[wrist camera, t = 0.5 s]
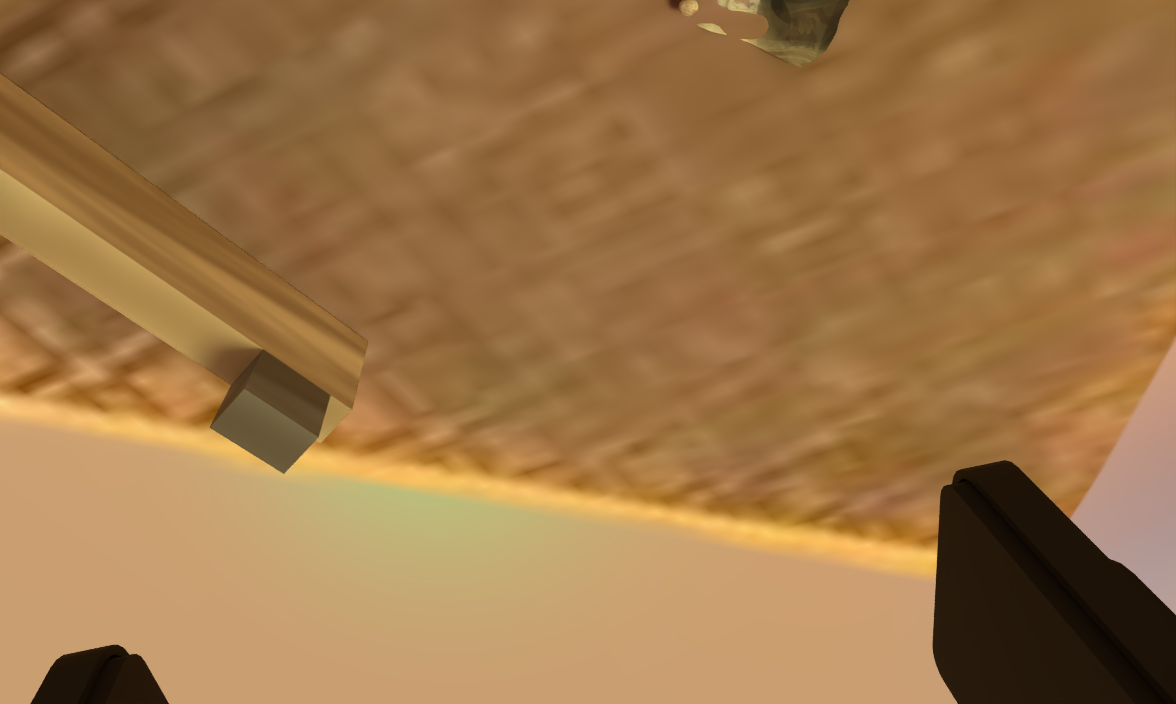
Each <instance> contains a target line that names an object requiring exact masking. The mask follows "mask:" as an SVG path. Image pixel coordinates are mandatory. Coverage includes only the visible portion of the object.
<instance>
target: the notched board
mask: <svg viewBox="0 0 1176 704" xmlns="http://www.w3.org/2000/svg"><path fill="white" fill-rule="evenodd" d="M0 235H2V236H3V237H5V238H6V239H8V240H10V241H11V242H13V243H14V244H16V245H17V246H19V247H20V248H22V249H23V250H25V251H26V252H28V253H29V254H31V255H33V256H34V257H36V258H37V259H39V260H40V261H42V262H43V263H45V264H46V265H48V266H49V267H51V268H52V269H54V270H55V271H57V272H59V273H60V274H62V275H63V276H65V277H66V278H68V279H69V280H71V281H72V282H74V283H75V284H77V285H78V286H80V287H81V288H83V289H85V290H86V291H88V292H89V293H91V294H92V295H94V296H95V297H97V298H98V299H100V300H101V301H103V302H104V303H106V304H108V305H109V306H111V307H112V308H114V309H115V310H117V311H118V312H120V313H121V314H123V315H124V316H126V317H127V318H129V319H130V320H132V321H134V322H135V323H137V324H138V325H140V326H141V327H143V328H144V329H146V330H147V331H149V332H150V333H152V334H153V335H155V336H157V337H158V338H160V339H161V340H163V341H164V342H166V343H167V344H169V345H170V346H172V347H173V348H175V349H176V350H178V351H179V352H181V353H183V354H184V355H186V356H187V357H189V358H190V359H192V360H193V361H195V362H196V363H198V364H199V365H201V366H202V367H204V368H205V369H207V370H209V371H210V372H212V373H213V374H215V375H216V376H218V377H219V378H221V379H222V380H224V381H225V382H227V383H228V384H230V385H231V387H230V389H229V390H228V392H227V394H226V396H225V398H224V400H223V402H222V404H221V406H220V408H219V410H218V412H217V414H216V416H215V418H214V420H213V422H212V424H211V426H210V428H211V429H213V430H214V431H216V432H218V433H219V434H221V435H222V436H224V437H226V438H227V439H229V440H230V441H232V442H234V443H235V444H237V445H238V446H240V447H242V448H243V449H245V450H247V451H248V452H250V453H251V454H253V455H255V456H256V457H258V458H259V459H261V460H263V461H264V462H266V463H267V464H269V465H271V466H272V467H274V468H275V469H277V470H279V471H280V472H282V473H283V474H284V473H285V472H286V471H287V470H288V469H289V468H290V467H291V466H292V465H293V464H294V463H295V462H296V461H297V460H298V458H299V457H300V456H301V455H302V454H303V453H304V452H305V451H306V450H307V449H308V448H309V447H310V446H311V445H312V444H313V443H314V442H315V441H317V442H319V443H321V442H322V441H323V440H324V439H325V438H326V437H327V436H328V435H329V433H330V432H331V431H332V430H333V429H334V428H335V427H336V426H337V425H338V424H339V423H340V422H341V421H342V420H343V419H344V418H345V417H346V416H347V415H348V414H349V413H350V411H351V410H352V408H353V404H354V400H355V395H356V391H357V387H358V383H359V378H360V374H361V370H362V366H363V361H364V357H365V353H366V349H367V345H368V341H366V340H365V339H363V338H362V337H361V336H359V335H358V334H357V333H355V332H354V331H352V330H351V329H350V328H348V327H347V326H346V325H344V324H343V323H342V322H340V321H339V320H337V319H336V318H335V317H333V316H332V315H331V314H329V313H328V312H326V311H325V310H324V309H322V308H321V307H320V306H318V305H317V304H315V303H314V302H313V301H311V300H310V299H309V298H307V297H306V296H305V295H303V294H302V293H300V292H299V291H298V290H296V289H295V288H294V287H292V286H291V285H289V284H288V283H287V282H285V281H284V280H283V279H281V278H280V277H278V276H277V275H276V274H274V273H273V272H272V271H270V270H269V269H268V268H266V267H265V266H263V265H262V264H261V263H259V262H258V261H257V260H255V259H254V258H252V257H251V256H250V255H248V254H247V253H246V252H244V251H243V250H241V249H240V248H239V247H237V246H236V245H235V244H233V243H232V242H231V241H229V240H228V239H226V238H225V237H224V236H222V235H221V234H220V233H218V232H217V231H215V230H214V229H213V228H211V227H210V226H209V225H207V224H206V223H204V222H203V221H202V220H200V219H199V218H198V217H196V216H195V215H194V214H192V213H191V212H189V211H188V210H187V209H185V208H184V207H183V206H181V205H180V204H178V203H177V202H176V201H174V200H173V199H172V198H170V197H169V196H167V195H166V194H165V193H163V192H162V191H161V190H159V189H158V188H157V187H155V186H154V185H152V184H151V183H150V182H148V181H147V180H146V179H144V178H143V177H141V176H140V175H139V174H137V173H136V172H135V171H133V170H132V169H130V168H129V167H128V166H126V165H125V164H124V163H122V162H121V161H120V160H118V159H117V158H115V157H114V156H113V155H111V154H110V153H109V152H107V151H106V150H104V149H103V148H102V147H100V146H99V145H98V144H96V143H95V142H93V141H92V140H91V139H89V138H88V137H87V136H85V135H84V134H83V133H81V132H80V131H78V130H77V129H76V128H74V127H73V126H72V125H70V124H69V123H67V122H66V121H65V120H63V119H62V118H61V117H59V116H58V115H56V114H55V113H54V112H52V111H51V110H50V109H48V108H47V107H46V106H44V105H43V104H41V103H40V102H39V101H37V100H36V99H35V98H33V97H32V96H30V95H29V94H28V93H26V92H25V91H24V90H22V89H21V88H19V87H18V86H17V85H15V84H14V83H13V82H11V81H10V80H9V79H7V78H6V77H4V76H3V75H2V74H0Z"/></svg>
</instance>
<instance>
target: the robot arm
mask: <svg viewBox="0 0 1176 704" xmlns="http://www.w3.org/2000/svg"><path fill="white" fill-rule="evenodd" d="M933 654H934V658H935V662H936V665H937V668H938V670H939V673H940V675H941V677H942V678H943V680H944V682H945V684H946V685H947V687H948V688H949V690H950V691H951V693H952V695H953V697H954V698H955V700H956V701H957V703H958V704H1176V615H1175V614H1174V613H1173V612H1172V611H1171V610H1170V609H1169V608H1168V607H1167V606H1166V605H1165V604H1164V603H1163V602H1162V601H1161V600H1160V599H1159V598H1158V597H1157V596H1156V595H1155V594H1154V593H1153V592H1152V591H1151V590H1150V589H1149V588H1148V587H1147V586H1146V585H1145V584H1144V583H1143V582H1142V581H1141V580H1140V579H1139V578H1138V577H1137V576H1136V575H1135V574H1134V573H1132V572H1131V571H1130V570H1129V569H1127V568H1126V567H1125V566H1123V565H1122V564H1121V563H1119V562H1116V561H1114V560H1111V559H1109V558H1108V557H1107V556H1106V555H1105V554H1104V553H1103V552H1102V551H1101V550H1100V549H1099V548H1098V547H1097V546H1096V545H1095V544H1094V543H1093V542H1092V541H1091V540H1090V539H1089V538H1088V537H1087V536H1086V535H1085V534H1084V533H1083V532H1082V531H1081V530H1080V529H1079V528H1078V527H1077V526H1076V525H1075V524H1074V523H1073V522H1072V521H1071V520H1070V519H1069V518H1068V517H1067V516H1066V515H1065V514H1064V513H1063V512H1062V511H1061V510H1060V509H1059V508H1058V507H1057V506H1056V505H1055V504H1054V503H1053V502H1052V501H1051V500H1050V499H1049V498H1048V497H1047V496H1046V495H1045V494H1044V493H1043V492H1042V491H1041V490H1040V489H1039V488H1038V487H1037V486H1036V485H1035V484H1034V483H1033V482H1032V481H1031V480H1030V479H1029V478H1028V477H1027V476H1026V475H1025V474H1024V473H1023V472H1022V471H1021V470H1020V469H1019V468H1018V467H1017V466H1016V465H1015V464H1013V463H1012V462H1010V461H1006V460H1004V461H999V462H994V463H990V464H985V465H980V466H975V467H970V468H965V469H961V470H958V471H956V473H955V475H954V477H953V482H952V484H951V485H946V486H944V487H943V488H942V490H941V496H940V514H939V533H938V552H937V571H936V590H935V609H934V628H933ZM31 704H169V703H168V701H167V700H166V698H165V696H164V694H163V693H162V691H161V689H160V687H159V686H158V684H157V682H156V680H155V679H154V677H153V675H152V673H151V671H150V670H149V668H148V666H147V665H146V663H145V661H144V660H143V659H142V657H141V656H139V655H137V654H131V655H129V654H128V652H127V651H126V650H125V649H124V648H123V647H121V646H119V645H110V646H105V647H100V648H95V649H90V650H86V651H81V652H76V653H71V654H66V655H63V656H61V657H60V658H58V659H57V660H56V661H55V662H54V664H53V665H52V666H51V668H50V670H49V672H48V673H47V675H46V677H45V679H44V680H43V682H42V684H41V686H40V688H39V690H38V691H37V693H36V695H35V697H34V699H33V700H32V702H31Z"/></svg>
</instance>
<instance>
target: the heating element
mask: <svg viewBox="0 0 1176 704" xmlns="http://www.w3.org/2000/svg"><path fill="white" fill-rule="evenodd" d="M717 1H718V3H719V5H721V6H723V7H727V8H728V9H730V10H735V11H744V12H748V13H753V14H759V15H763V16H764V17H765V18H766V19H767V21H768V24H769V28H768V30H767V33H766V34H765V35H763V36H761V37H760V38H758V39H754V40H746V39H741V40H743V41H746V42H748V43H751V44H753V45H755V46H757V47H759V48H761V49H763V50H765V51H767V52H769V53H771V54H773V55H775V56H776V57H778V58H780V59H782V60H784V61H786V62H788V63H791V64H794V65H796V66H799V67H802V64H803V62H811V61H813V60H814V59H816V58H817V57H818V56H819V55H821V54H822V53H823V52H824V51H825V50H827V48H828V46H829V44H830V42H831V41H832V39H833V37H834V35H835V33H836V31H837V27H838V23H839V19H840V17H841V15H842V13H843V11H844V9H845V8H846V6H847V5H848V2H849V0H717ZM679 10H680V12H681V13H682V14H683V15H686V16H691V15H692V14H693V13H694V12H696V11H698V3H697V1H696V0H682V1H681V2H680V3H679ZM696 25H697V26H699V27H702V28H704V29H706V30H709V31H712V32H716V33H720V34H725V35H727V34H726V33H724V31H723V30H722V29H721V28H720V27H719V26H716V25H714V24H696Z"/></svg>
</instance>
